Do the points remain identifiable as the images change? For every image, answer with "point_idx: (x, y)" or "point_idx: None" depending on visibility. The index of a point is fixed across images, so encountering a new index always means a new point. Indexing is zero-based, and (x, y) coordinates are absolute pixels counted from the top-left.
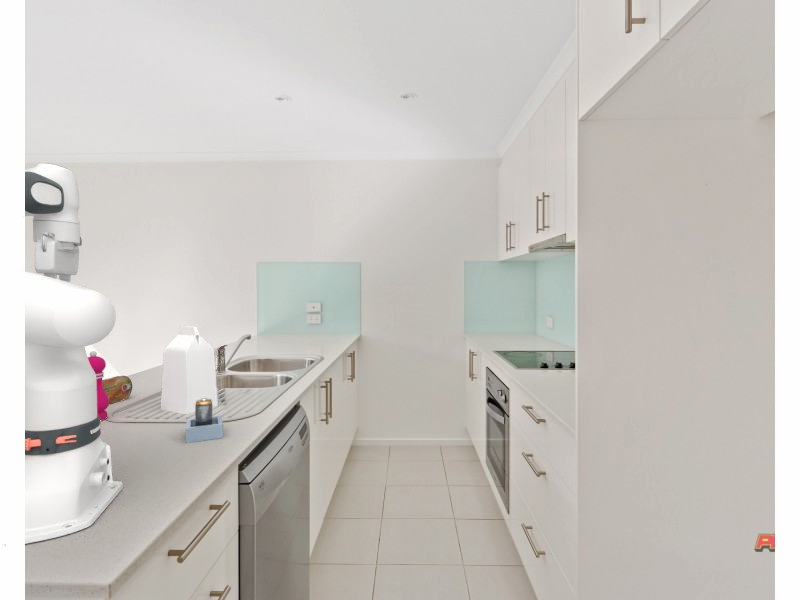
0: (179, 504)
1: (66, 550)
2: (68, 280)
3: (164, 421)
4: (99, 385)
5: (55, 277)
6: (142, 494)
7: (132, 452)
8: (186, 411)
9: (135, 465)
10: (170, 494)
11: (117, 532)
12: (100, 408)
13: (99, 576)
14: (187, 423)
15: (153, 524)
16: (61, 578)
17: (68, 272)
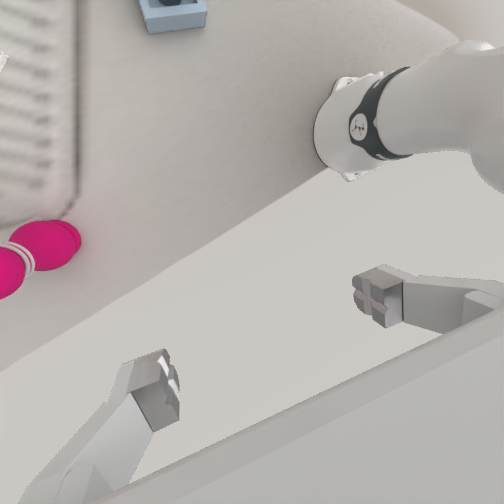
0: (386, 3)
1: None
2: (83, 463)
3: (71, 98)
4: (24, 241)
5: (502, 286)
6: (356, 52)
7: (234, 105)
8: (3, 54)
9: (280, 85)
10: (363, 18)
11: (412, 54)
12: (61, 226)
13: None
14: (174, 12)
15: (411, 24)
16: None
17: (282, 428)
